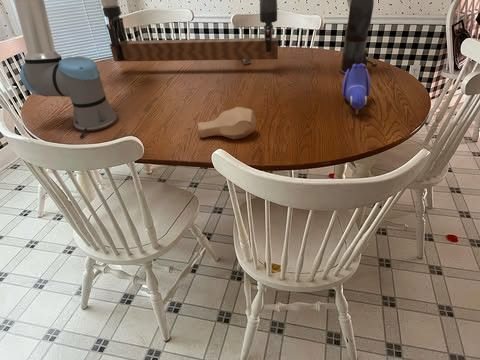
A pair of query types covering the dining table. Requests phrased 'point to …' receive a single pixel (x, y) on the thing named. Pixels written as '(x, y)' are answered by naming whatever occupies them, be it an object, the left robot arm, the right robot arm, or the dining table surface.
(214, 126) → the squash
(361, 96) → the toy
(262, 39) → the beam
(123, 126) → the dining table surface
